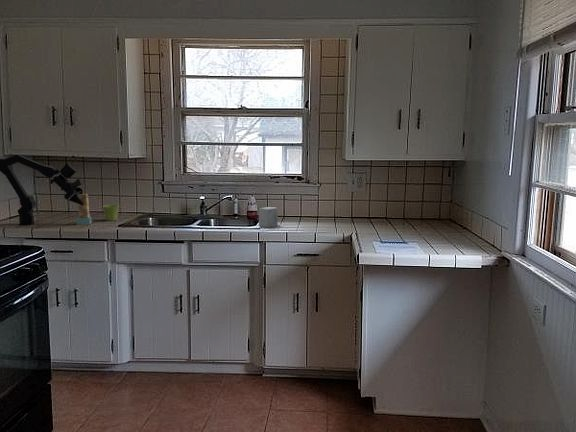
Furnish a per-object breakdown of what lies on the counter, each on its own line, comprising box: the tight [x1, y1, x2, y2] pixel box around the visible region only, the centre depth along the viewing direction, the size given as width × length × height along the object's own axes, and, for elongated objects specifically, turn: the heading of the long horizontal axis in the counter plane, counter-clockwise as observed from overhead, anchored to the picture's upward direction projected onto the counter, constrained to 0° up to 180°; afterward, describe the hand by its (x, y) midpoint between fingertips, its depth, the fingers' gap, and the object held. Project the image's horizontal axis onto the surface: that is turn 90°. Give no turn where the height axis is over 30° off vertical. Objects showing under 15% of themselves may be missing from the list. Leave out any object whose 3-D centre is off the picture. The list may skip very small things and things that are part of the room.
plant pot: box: [102, 204, 120, 222], centre depth 316 cm, size 9×9×9 cm
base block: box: [75, 215, 92, 226], centre depth 302 cm, size 7×7×4 cm
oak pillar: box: [78, 193, 91, 218], centre depth 301 cm, size 4×4×13 cm
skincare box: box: [258, 206, 279, 228], centre depth 301 cm, size 10×6×10 cm, turn 149°
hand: (85, 203), depth 301 cm, fingers open, 9 cm apart
